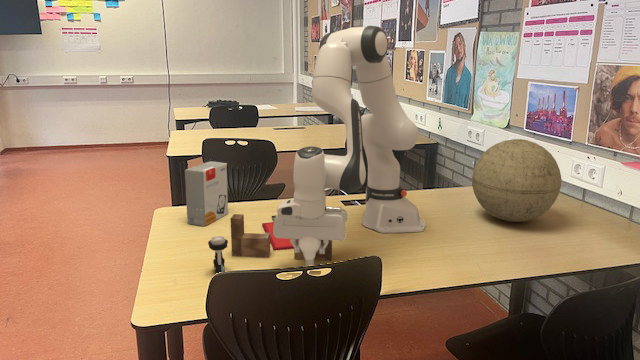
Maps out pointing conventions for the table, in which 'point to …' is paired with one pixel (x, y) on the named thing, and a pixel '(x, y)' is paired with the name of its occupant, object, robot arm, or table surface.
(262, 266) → the table surface
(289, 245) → the red board with handle
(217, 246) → the push button
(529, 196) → the mottled brown seamed ball
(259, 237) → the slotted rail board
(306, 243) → the lightbulb
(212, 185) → the hard drive box
